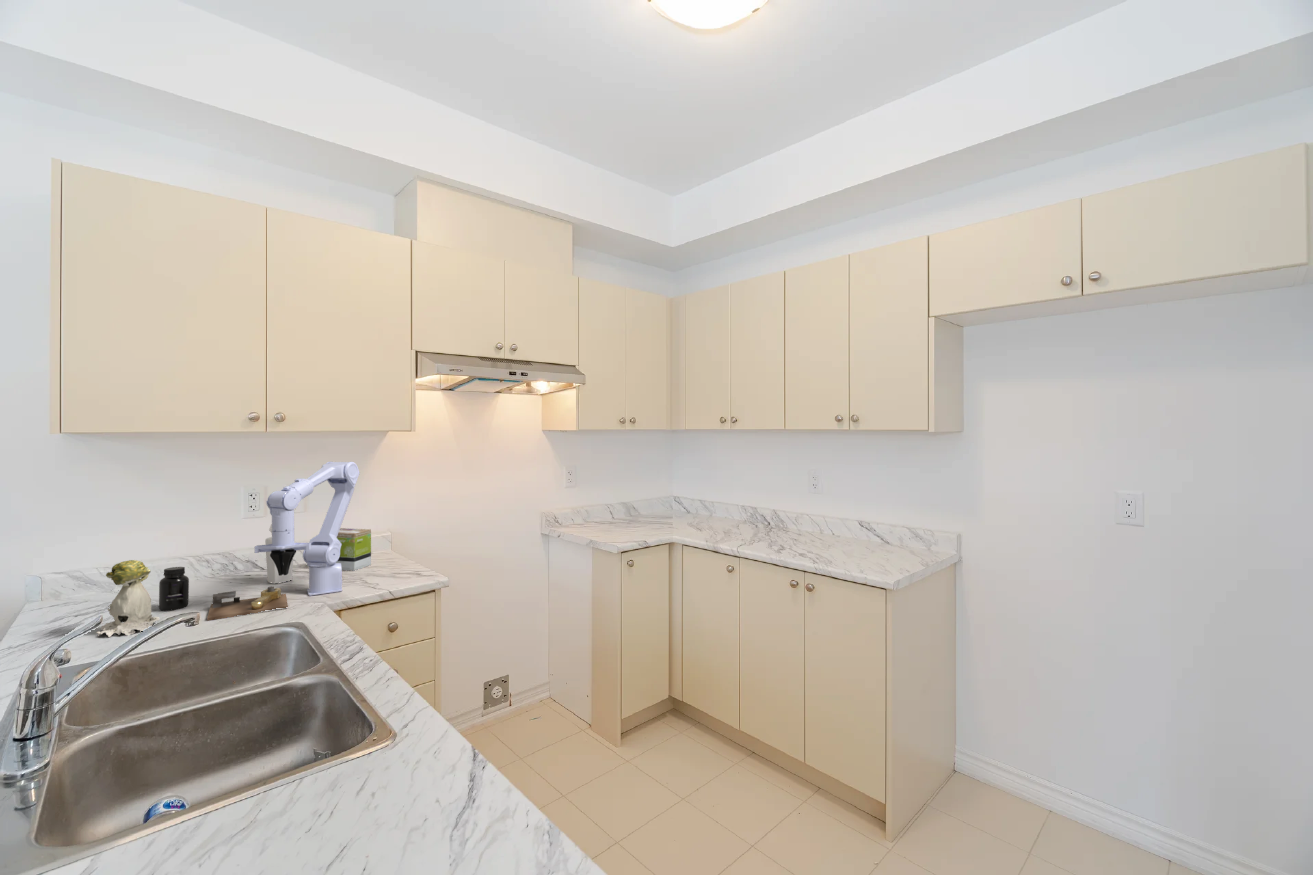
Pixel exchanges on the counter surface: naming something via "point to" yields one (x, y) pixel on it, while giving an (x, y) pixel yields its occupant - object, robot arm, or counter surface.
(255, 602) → the link
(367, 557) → the tea box
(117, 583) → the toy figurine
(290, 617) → the counter surface
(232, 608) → the hinge board
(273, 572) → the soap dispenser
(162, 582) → the supplement bottle
